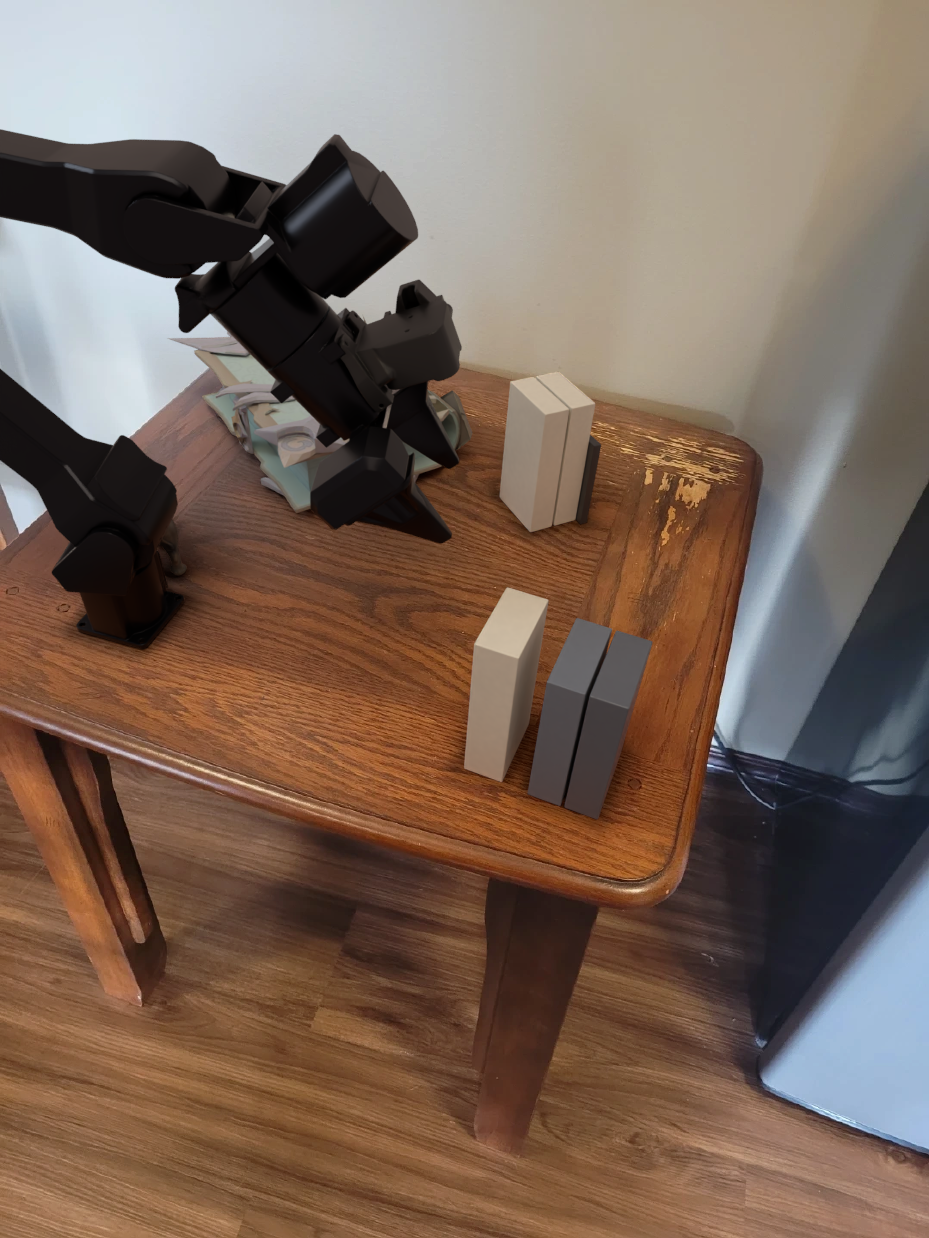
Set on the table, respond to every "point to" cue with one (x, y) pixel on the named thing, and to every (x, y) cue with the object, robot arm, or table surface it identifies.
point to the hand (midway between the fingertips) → (451, 500)
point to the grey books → (586, 716)
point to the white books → (548, 452)
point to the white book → (503, 682)
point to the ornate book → (290, 420)
